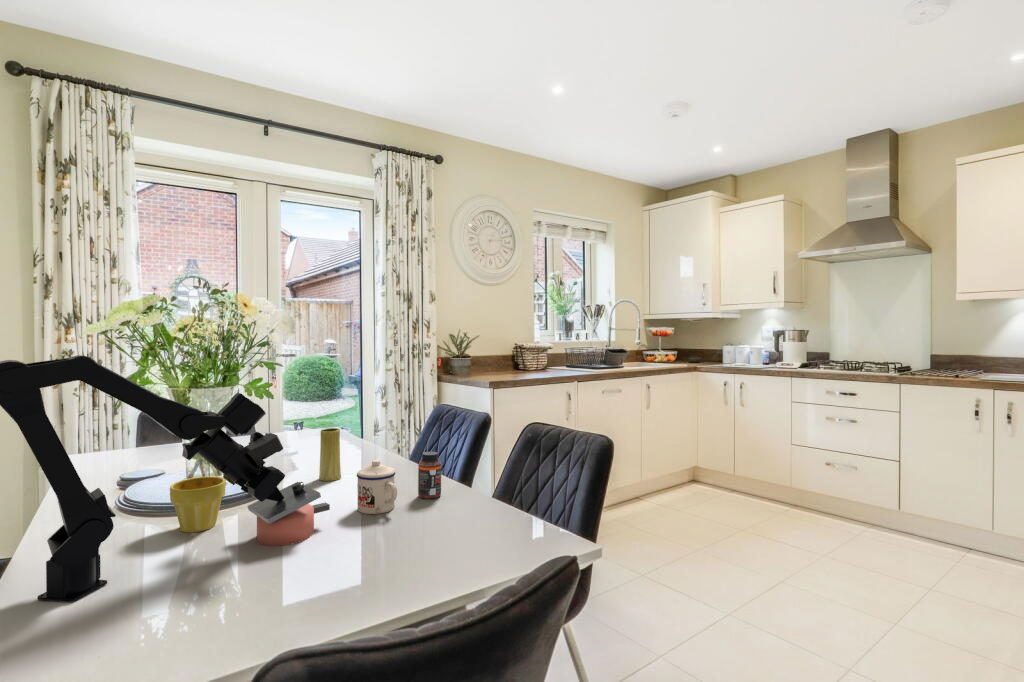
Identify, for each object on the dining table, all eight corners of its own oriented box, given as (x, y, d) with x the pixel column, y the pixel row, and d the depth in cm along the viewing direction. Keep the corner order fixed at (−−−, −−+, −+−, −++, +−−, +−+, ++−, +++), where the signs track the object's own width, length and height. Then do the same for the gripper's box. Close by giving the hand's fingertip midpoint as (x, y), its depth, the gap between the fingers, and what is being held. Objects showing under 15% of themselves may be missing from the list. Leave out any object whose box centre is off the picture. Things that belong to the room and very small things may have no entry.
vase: (318, 477, 155) (318, 428, 155) (339, 474, 158) (339, 427, 157) (320, 482, 150) (320, 432, 149) (342, 480, 152) (342, 430, 152)
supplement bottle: (439, 499, 135) (439, 455, 135) (416, 499, 135) (416, 455, 135) (442, 492, 141) (443, 450, 141) (420, 492, 141) (420, 450, 141)
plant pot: (200, 538, 109) (200, 491, 109) (158, 534, 111) (157, 487, 111) (236, 520, 119) (236, 477, 119) (196, 517, 121) (196, 474, 121)
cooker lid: (269, 524, 103) (265, 512, 102) (248, 510, 111) (245, 499, 110) (321, 496, 110) (317, 485, 110) (298, 485, 118) (295, 475, 118)
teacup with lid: (348, 509, 127) (348, 461, 127) (379, 500, 134) (380, 454, 134) (379, 520, 120) (379, 469, 119) (410, 510, 127) (411, 462, 127)
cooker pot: (269, 550, 103) (269, 525, 103) (248, 535, 111) (248, 511, 111) (339, 530, 114) (339, 507, 113) (316, 517, 121) (316, 496, 121)
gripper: (275, 428, 100) (329, 476, 108) (240, 416, 113) (291, 460, 121) (229, 476, 94) (289, 524, 102) (198, 458, 107) (254, 501, 115)
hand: (281, 499), depth 110 cm, fingers closed, pressing on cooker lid
